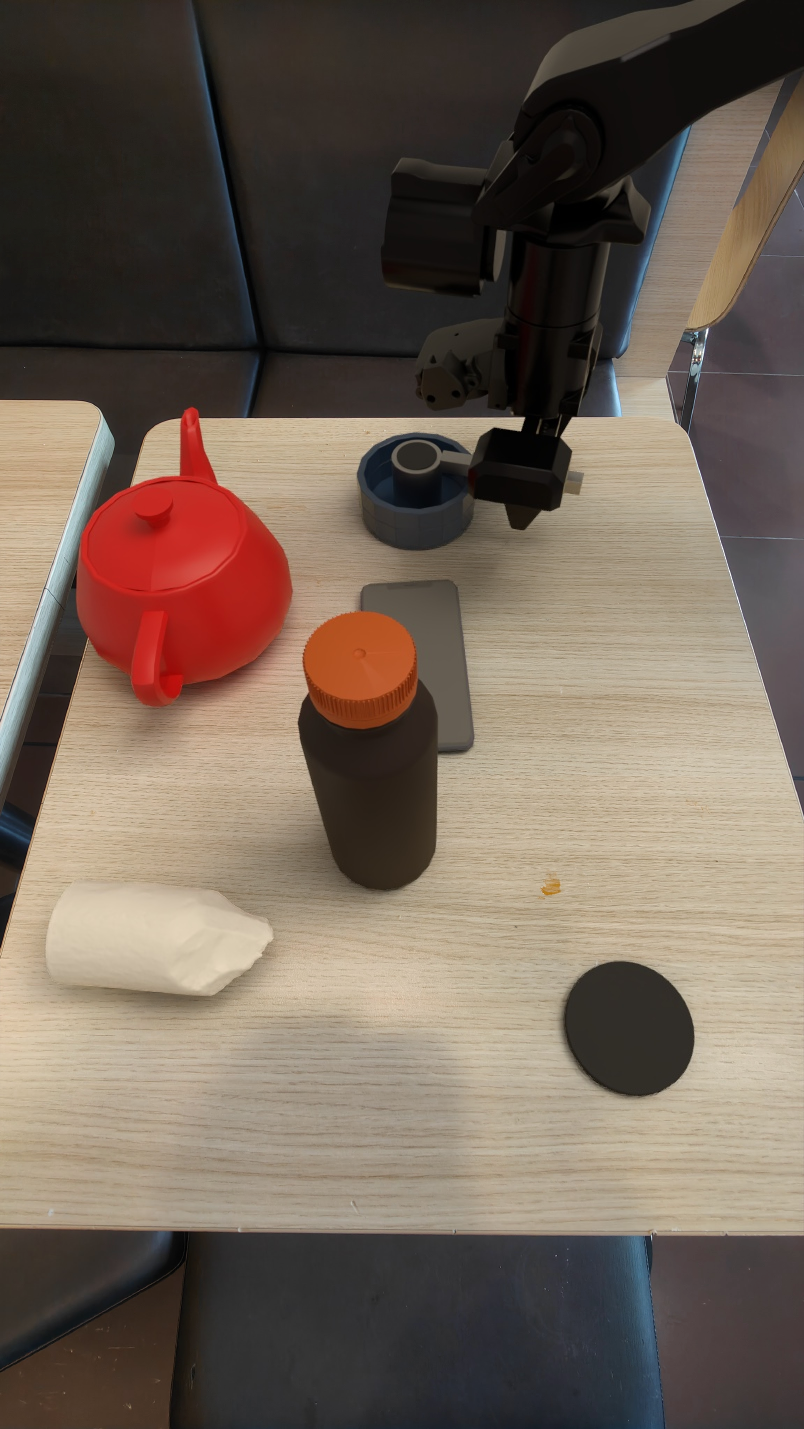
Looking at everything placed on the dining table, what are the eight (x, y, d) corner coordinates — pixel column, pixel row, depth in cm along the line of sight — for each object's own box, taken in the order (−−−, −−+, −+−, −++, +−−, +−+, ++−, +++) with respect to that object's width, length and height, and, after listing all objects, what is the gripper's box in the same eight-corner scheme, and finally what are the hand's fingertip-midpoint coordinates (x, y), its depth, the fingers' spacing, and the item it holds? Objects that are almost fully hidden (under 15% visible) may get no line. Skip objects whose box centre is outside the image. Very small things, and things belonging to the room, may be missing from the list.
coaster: (662, 951, 46) (664, 948, 45) (713, 1078, 42) (716, 1077, 42) (547, 978, 45) (548, 976, 45) (589, 1110, 42) (591, 1109, 41)
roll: (273, 1012, 45) (254, 988, 40) (71, 994, 46) (29, 969, 41) (290, 909, 48) (275, 876, 43) (101, 895, 49) (65, 861, 44)
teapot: (287, 750, 54) (254, 642, 44) (64, 754, 54) (-21, 648, 44) (309, 498, 67) (288, 370, 57) (130, 503, 68) (77, 376, 57)
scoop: (575, 514, 65) (587, 460, 60) (567, 548, 63) (578, 495, 58) (401, 484, 67) (399, 430, 63) (388, 516, 65) (385, 463, 61)
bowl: (458, 462, 69) (459, 424, 66) (488, 538, 64) (491, 501, 61) (351, 481, 68) (347, 443, 65) (373, 559, 63) (370, 523, 60)
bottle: (456, 827, 50) (469, 634, 34) (397, 913, 48) (378, 749, 31) (371, 777, 53) (342, 571, 36) (309, 856, 50) (246, 673, 33)
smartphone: (364, 752, 53) (359, 582, 60) (365, 759, 53) (360, 590, 61) (476, 745, 53) (457, 576, 60) (475, 752, 53) (456, 585, 61)
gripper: (461, 214, 55) (455, 408, 68) (386, 373, 45) (396, 562, 58) (621, 231, 53) (584, 427, 66) (578, 401, 43) (544, 589, 57)
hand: (527, 495), depth 62 cm, fingers open, 7 cm apart
